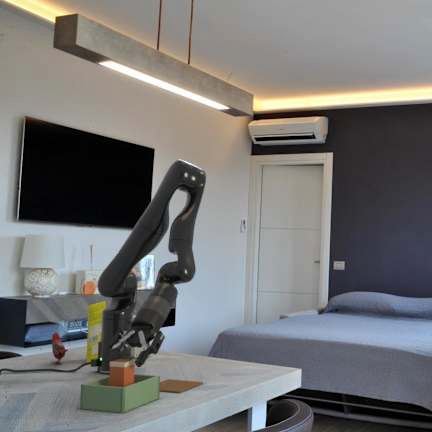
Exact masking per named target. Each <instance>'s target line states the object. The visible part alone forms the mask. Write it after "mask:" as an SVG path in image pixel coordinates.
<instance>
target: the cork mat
mask: <svg viewBox="0 0 432 432" xmlns="http://www.w3.org/2000/svg"><path fill="white" fill-rule="evenodd" d="M203 384H204V382H203V381H193V380H182V379H179V380H178V379H171V378H170V379H169V378H168V379H165V380H162V381H160V391H159V392H165V393H175V394H176V393H177V394H181V393H183V392H186V391H188V390H190V389H193V388H196V387H198V386H201V385H203Z"/></svg>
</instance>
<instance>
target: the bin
mask: <svg viewBox="0 0 432 432" xmlns="http://www.w3.org/2000/svg"><path fill="white" fill-rule="evenodd" d="M109 376H110V375H109ZM109 376H105V377H102V378H98V379H96V380H92V381H88V382H85V383H82V384H80V397H79V399H80V401H79V409H81V410H89V411H90V410H91V411H101V412H111V413H120V414H121V413H123V414H124V413H125V412H128V411H130V410H134V409H137V408H138V407H141V406H144V405H146V404H148V403H151V402H154V401H156V400H159V399H160V392H161V391H160V382H161V376H160V375H154V374H141V373H140V374H139V373H134V384H132V385H129V386H126V387H113V386H109Z"/></svg>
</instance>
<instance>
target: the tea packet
mask: <svg viewBox="0 0 432 432" xmlns="http://www.w3.org/2000/svg"><path fill="white" fill-rule="evenodd" d="M135 361H136V359H132V360H128V359H118V360H115V361H111V362H110V374H109V386H113V387H126V386H129V385H132V384H134V374H135V366H136V364H135Z"/></svg>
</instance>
